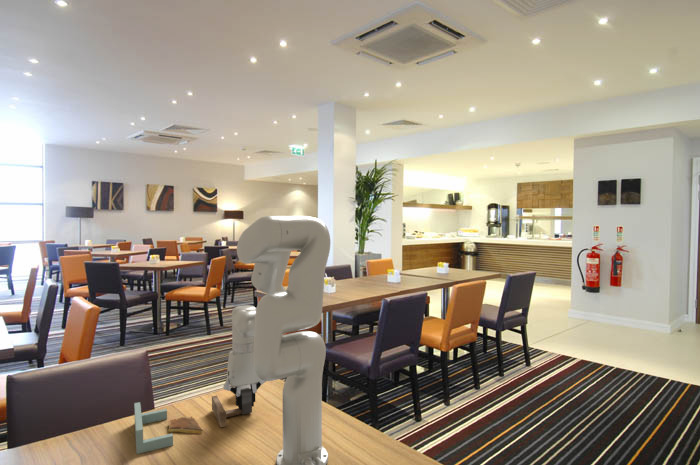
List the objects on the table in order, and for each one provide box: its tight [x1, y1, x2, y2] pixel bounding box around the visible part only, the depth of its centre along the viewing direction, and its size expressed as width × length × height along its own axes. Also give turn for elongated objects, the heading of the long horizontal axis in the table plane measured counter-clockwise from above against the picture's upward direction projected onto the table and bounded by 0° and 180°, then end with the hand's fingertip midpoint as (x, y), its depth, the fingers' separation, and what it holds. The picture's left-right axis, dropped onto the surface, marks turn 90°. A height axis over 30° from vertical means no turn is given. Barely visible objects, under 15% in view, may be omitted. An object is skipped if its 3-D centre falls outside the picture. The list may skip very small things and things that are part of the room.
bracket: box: [133, 401, 174, 455], centre depth 114 cm, size 18×8×6 cm, turn 29°
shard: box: [167, 416, 204, 434], centre depth 116 cm, size 11×8×2 cm
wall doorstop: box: [211, 387, 253, 428], centre depth 124 cm, size 13×10×6 cm
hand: (245, 405), depth 126 cm, fingers closed on wall doorstop, 3 cm apart
